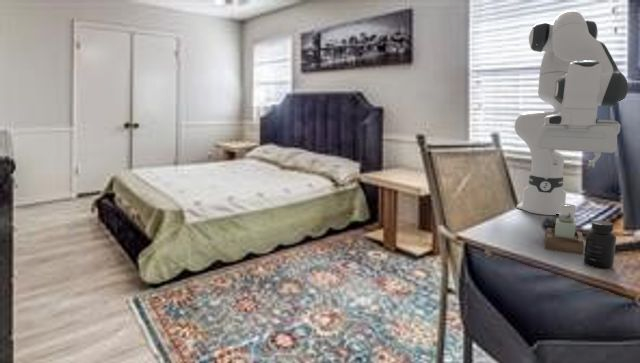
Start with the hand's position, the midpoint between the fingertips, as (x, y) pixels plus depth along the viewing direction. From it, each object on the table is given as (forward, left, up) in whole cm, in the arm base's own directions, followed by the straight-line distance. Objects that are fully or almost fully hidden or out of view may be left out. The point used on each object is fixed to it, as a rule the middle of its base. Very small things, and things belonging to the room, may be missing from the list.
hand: (572, 165), depth 129 cm
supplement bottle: (+12, +8, -25) cm, 29 cm away
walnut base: (0, 0, -25) cm, 25 cm away
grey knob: (0, 0, -17) cm, 17 cm away
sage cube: (0, 0, -22) cm, 22 cm away
